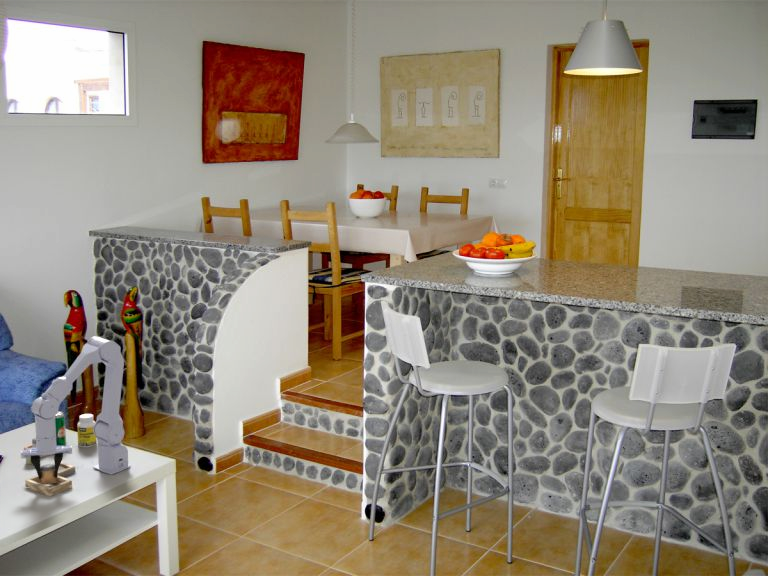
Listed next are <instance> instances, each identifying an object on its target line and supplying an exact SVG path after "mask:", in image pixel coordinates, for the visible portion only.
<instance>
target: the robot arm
mask: <svg viewBox="0 0 768 576" xmlns="http://www.w3.org/2000/svg"><path fill="white" fill-rule="evenodd" d="M98 363H103V364H104V365H105V375H104V381H103V382H104V384H103V394H102V403H101V404H102V405H101V412H100V413H99V414H97V416H96V421H95V422H96V423H95V425H94V427H93V433H94V435H95V436H96V442H97V458H98V462H97V463H98V464H96V465H94V466H92V468H93V469H94V470H98V471H101V472H103V473H106V474H108V475H113V474H116V473H118V472H121V471H123V470H126V469H129V468H131V465H130V464H129V454H128V453H129V452H128V451H129V450H128V448H127V447H126V446H125V445H124V444H123V443H122V440H123V439H124V437H125V429H124V425H123V424H124V421H123V419H122V417H121V415H120V405H121V396H122V395H121V394H122V385H123V374H124V366H125V358H124V357H123V354H122V352H121V346H120V345H119V344H118V343H117V342H115V341H114V340H109V339H106V338H103V337H101V336H99V335H98V336H97V335H96V336H95V335H94V336H92V337H90V338H89V339H88V341H87V342H86V343H85V344H84V345H82V349H81V352H80V354H79V355H78V356H77V358H76V359H75V360H74V361H73V363H72V364H71V366H70V367H69V368H68V370H66V372H65V374H64V375H63V376H60V377H56V379H53V380H52V381H51V385H50V386H48V388H47V389H46V391H45V392H42V393H41V396H39V397H37V398H35V399H34V401H33V402H32V405H31V406H30V411H31V412H32V414H33V415H34V421H35V422H34V425H35V438H36V445H37V448H33V449H28V450H24V449H23V450H21V451H20V457H21V458H20V459H26V457H31V463H32V464H33V465H32V466H33V468H34V469H35V472H36V474H37V475H38V477H39V479H41V466H42V465H41V457H40V456H43V457H45V455H46V456H53V455H54V457H53V462H54V463H55V478H56V477H57V476H58V469H59V466H60V463H61V462H63V460H64V459H63V458H64V454H67V455H71V454H73V446H72V445H63V446H57V445H56V426H55V415H56V414H57V413H58V411H59V409H60V406H61V403H62V402H63V401H64V400H65V398H66V397H67V396H68V395H69V393H70V392H71V391H72V390H73V383H74V382H75V381H76V380H77V379H78V377H80V376H81V375H82V373H84V372H85V370H86V369H87V368H88V367H89V366H90V365H93V364H98Z"/></svg>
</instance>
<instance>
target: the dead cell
mask: <svg viewBox="0 0 768 576" xmlns="http://www.w3.org/2000/svg"><path fill="white" fill-rule="evenodd" d="M31 445H32V447H33V448H37V445H36V437H33V438H32V440H31Z"/></svg>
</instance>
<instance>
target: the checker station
mask: <svg viewBox="0 0 768 576" xmlns="http://www.w3.org/2000/svg"><path fill="white" fill-rule="evenodd" d="M52 464H54V465H55V462H54V463H52ZM73 473H76V466H74V465H71V464H69V463H66V462H63V461H61V463H60V466H59V469H58V476H57V477H56V478H55V480H56V481H55V482H54V483H55V484H56V485H53V486H48V485H46V484H43V483H42V478H41V479H39V477H38V474H37V475H35V476H31V477H29V478H26V479H25V480H24V481H25V482H24V483H25V484H24V485H25V486H27V487H26V488H28V487H29V488H28V489H31V490H33V489H34V491H35V492H38V493H40V492H41V494H44V495H45V494H46V496H48V497H51V496H53V495H56V494H59V493H62V492H63V491H66V490H69V489H71V488H73V480H71V479H69V478H67V477H66V476H68V475H71V474H73ZM54 483H53V484H54Z"/></svg>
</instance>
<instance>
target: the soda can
mask: <svg viewBox="0 0 768 576" xmlns="http://www.w3.org/2000/svg"><path fill="white" fill-rule="evenodd" d="M55 426H56V445H57V446H66V444H67V440H66V439H67V436H66V435H67V433H66V416H65V414H64V412H63V411H59V410H58V413H57V414H56V415H55Z"/></svg>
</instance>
